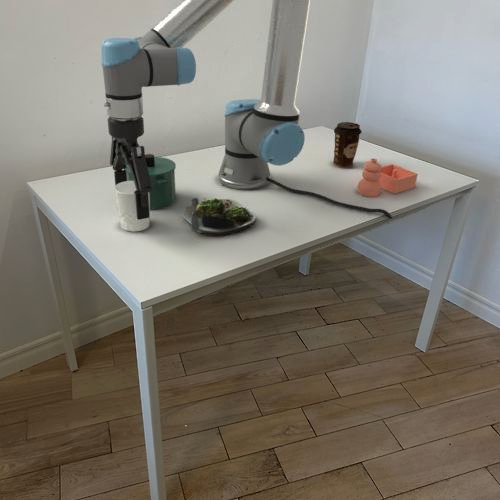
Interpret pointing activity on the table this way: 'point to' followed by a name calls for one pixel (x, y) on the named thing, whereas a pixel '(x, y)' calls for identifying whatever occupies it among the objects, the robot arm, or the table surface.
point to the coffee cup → (346, 143)
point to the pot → (161, 190)
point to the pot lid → (157, 166)
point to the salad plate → (218, 217)
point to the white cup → (129, 207)
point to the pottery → (385, 179)
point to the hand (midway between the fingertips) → (132, 206)
